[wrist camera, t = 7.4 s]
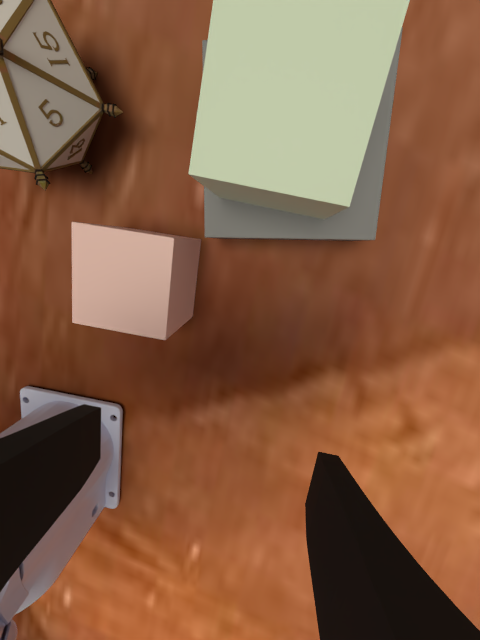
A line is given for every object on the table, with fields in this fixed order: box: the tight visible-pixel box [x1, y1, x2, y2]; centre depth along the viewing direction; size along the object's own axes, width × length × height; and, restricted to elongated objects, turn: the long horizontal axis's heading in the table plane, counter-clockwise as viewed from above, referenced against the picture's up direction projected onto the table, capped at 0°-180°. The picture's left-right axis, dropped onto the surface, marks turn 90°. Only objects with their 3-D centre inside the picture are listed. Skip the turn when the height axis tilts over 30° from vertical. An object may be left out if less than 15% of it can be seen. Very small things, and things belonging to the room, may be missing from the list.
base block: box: [202, 27, 403, 241], centre depth 15 cm, size 8×8×4 cm
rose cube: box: [72, 222, 201, 340], centre depth 17 cm, size 5×5×5 cm
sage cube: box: [189, 0, 410, 219], centre depth 11 cm, size 5×5×5 cm
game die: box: [0, 0, 123, 191], centre depth 14 cm, size 9×8×10 cm
